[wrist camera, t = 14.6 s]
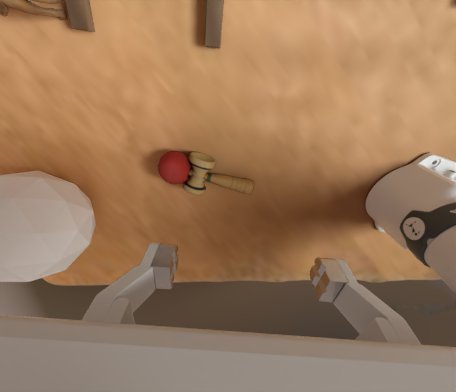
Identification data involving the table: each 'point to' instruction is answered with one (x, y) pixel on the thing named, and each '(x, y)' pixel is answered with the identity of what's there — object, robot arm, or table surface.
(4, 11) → the lion figurine
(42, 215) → the geometric polyhedron
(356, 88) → the table surface
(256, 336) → the robot arm
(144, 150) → the table surface
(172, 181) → the kendama
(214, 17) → the stop channel
